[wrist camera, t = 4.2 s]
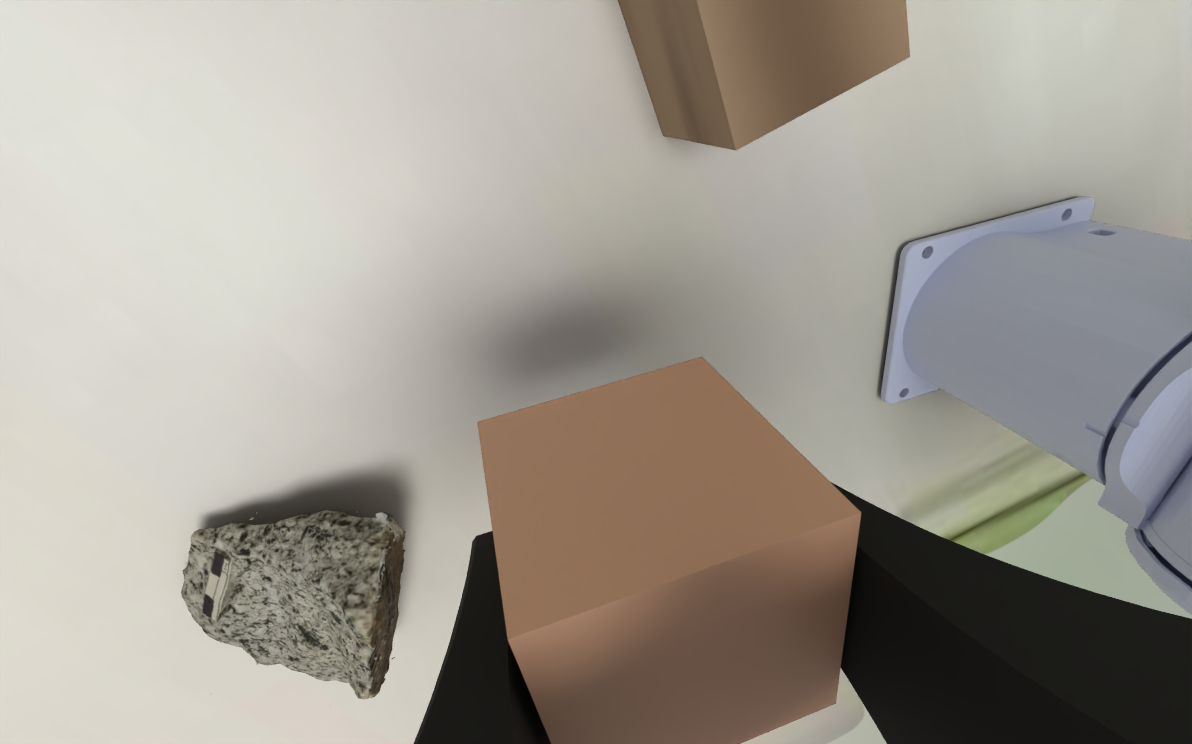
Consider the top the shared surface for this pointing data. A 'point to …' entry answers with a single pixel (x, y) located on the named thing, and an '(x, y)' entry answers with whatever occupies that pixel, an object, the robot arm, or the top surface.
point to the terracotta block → (667, 562)
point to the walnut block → (757, 59)
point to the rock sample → (302, 593)
